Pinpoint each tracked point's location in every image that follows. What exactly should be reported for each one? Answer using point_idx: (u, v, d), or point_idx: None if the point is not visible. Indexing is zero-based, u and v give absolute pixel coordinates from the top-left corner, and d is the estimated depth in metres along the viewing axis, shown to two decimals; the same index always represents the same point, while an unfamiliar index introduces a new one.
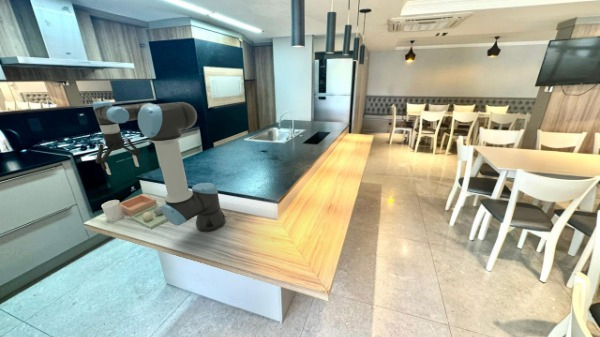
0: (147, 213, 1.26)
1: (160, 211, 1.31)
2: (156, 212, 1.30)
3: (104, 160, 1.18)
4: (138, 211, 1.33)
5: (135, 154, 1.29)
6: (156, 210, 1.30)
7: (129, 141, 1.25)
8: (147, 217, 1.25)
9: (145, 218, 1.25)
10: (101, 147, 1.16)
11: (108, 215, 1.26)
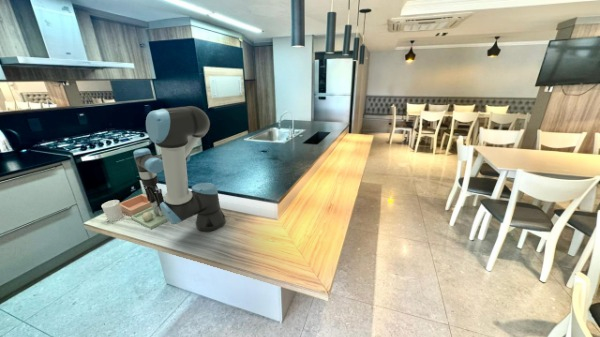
0: (147, 213, 1.26)
1: None
2: (156, 212, 1.30)
3: (150, 200, 1.31)
4: (138, 211, 1.33)
5: (157, 204, 1.28)
6: (156, 210, 1.30)
7: (156, 192, 1.24)
8: (147, 217, 1.25)
9: (145, 218, 1.25)
10: (144, 188, 1.29)
11: (108, 215, 1.26)
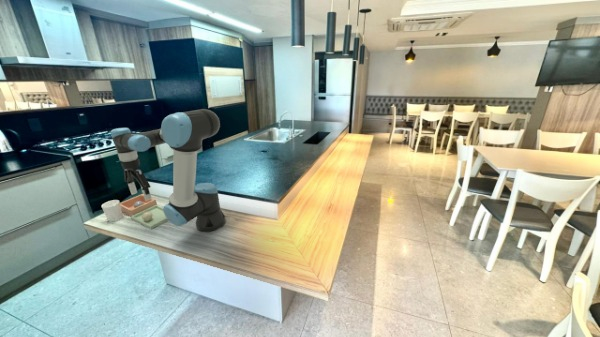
0: (147, 213, 1.26)
1: None
2: None
3: (127, 181, 1.22)
4: (138, 211, 1.33)
5: None
6: None
7: (137, 173, 1.13)
8: (147, 217, 1.25)
9: (145, 218, 1.25)
10: (124, 169, 1.19)
11: (108, 215, 1.26)
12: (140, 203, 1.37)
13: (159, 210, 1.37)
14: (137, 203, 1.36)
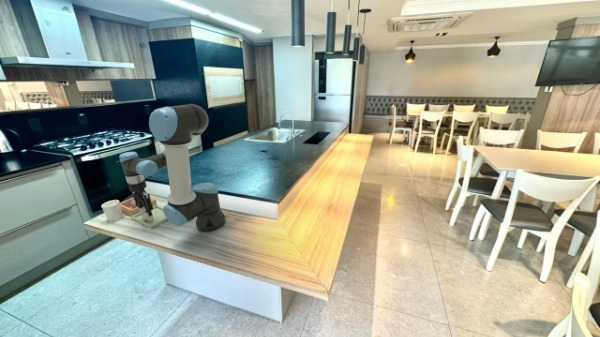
0: None
1: (137, 206, 1.39)
2: (133, 206, 1.38)
3: (138, 205, 1.26)
4: (138, 211, 1.33)
5: (145, 210, 1.23)
6: (133, 204, 1.38)
7: (144, 197, 1.19)
8: None
9: (145, 218, 1.25)
10: (132, 193, 1.24)
11: (108, 215, 1.26)
12: None
13: (159, 210, 1.37)
14: None
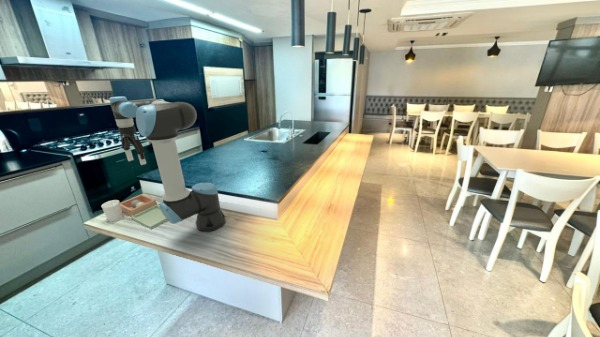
0: (139, 202, 1.36)
1: None
2: (133, 206, 1.38)
3: (124, 148, 1.33)
4: (138, 211, 1.33)
5: (138, 152, 1.27)
6: (134, 205, 1.38)
7: (133, 139, 1.24)
8: None
9: None
10: (121, 136, 1.30)
11: (108, 215, 1.26)
12: (134, 200, 1.40)
13: (159, 210, 1.37)
14: None
